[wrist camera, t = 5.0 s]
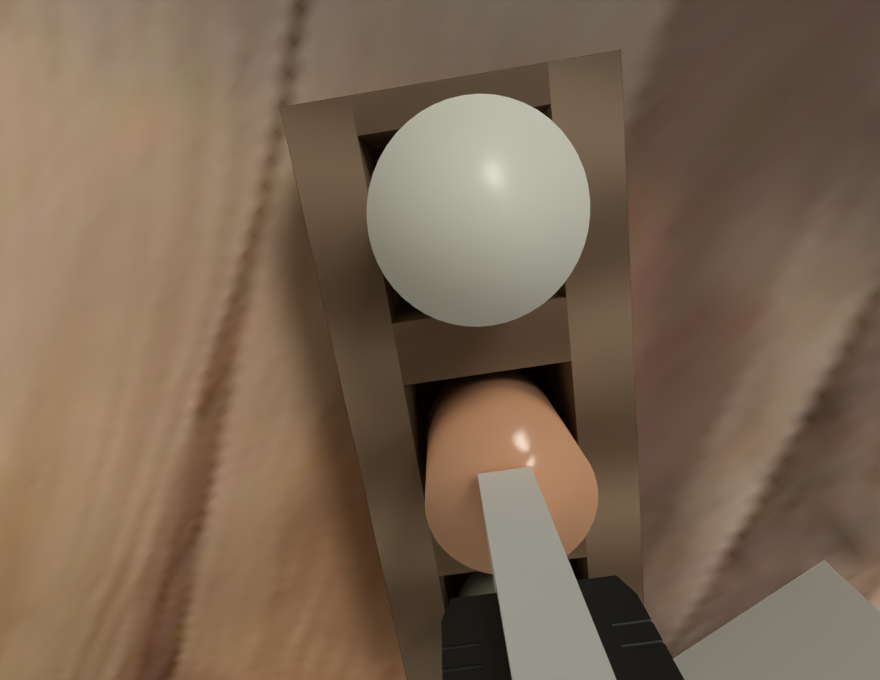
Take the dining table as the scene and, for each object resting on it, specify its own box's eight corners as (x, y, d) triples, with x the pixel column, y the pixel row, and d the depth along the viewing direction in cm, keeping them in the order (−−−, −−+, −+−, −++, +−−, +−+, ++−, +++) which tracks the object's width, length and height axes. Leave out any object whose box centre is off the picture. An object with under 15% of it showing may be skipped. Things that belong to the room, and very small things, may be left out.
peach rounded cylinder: (418, 376, 17) (411, 437, 12) (547, 357, 17) (592, 411, 12) (438, 489, 18) (438, 585, 13) (558, 472, 18) (603, 563, 13)
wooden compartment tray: (316, 135, 17) (279, 107, 13) (577, 91, 16) (620, 49, 12) (418, 630, 23) (414, 713, 19) (611, 606, 22) (647, 685, 18)
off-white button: (377, 153, 14) (345, 114, 9) (531, 127, 14) (582, 75, 9) (404, 304, 15) (388, 340, 10) (545, 283, 15) (597, 309, 10)
